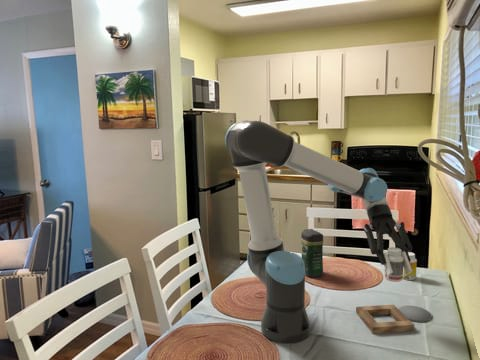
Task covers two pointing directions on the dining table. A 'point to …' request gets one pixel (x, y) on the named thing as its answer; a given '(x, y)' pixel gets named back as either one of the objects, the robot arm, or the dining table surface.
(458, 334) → the dining table surface
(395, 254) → the pill bottle
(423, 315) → the coaster
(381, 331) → the pocket
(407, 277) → the supplement bottle
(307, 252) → the coffee jar
